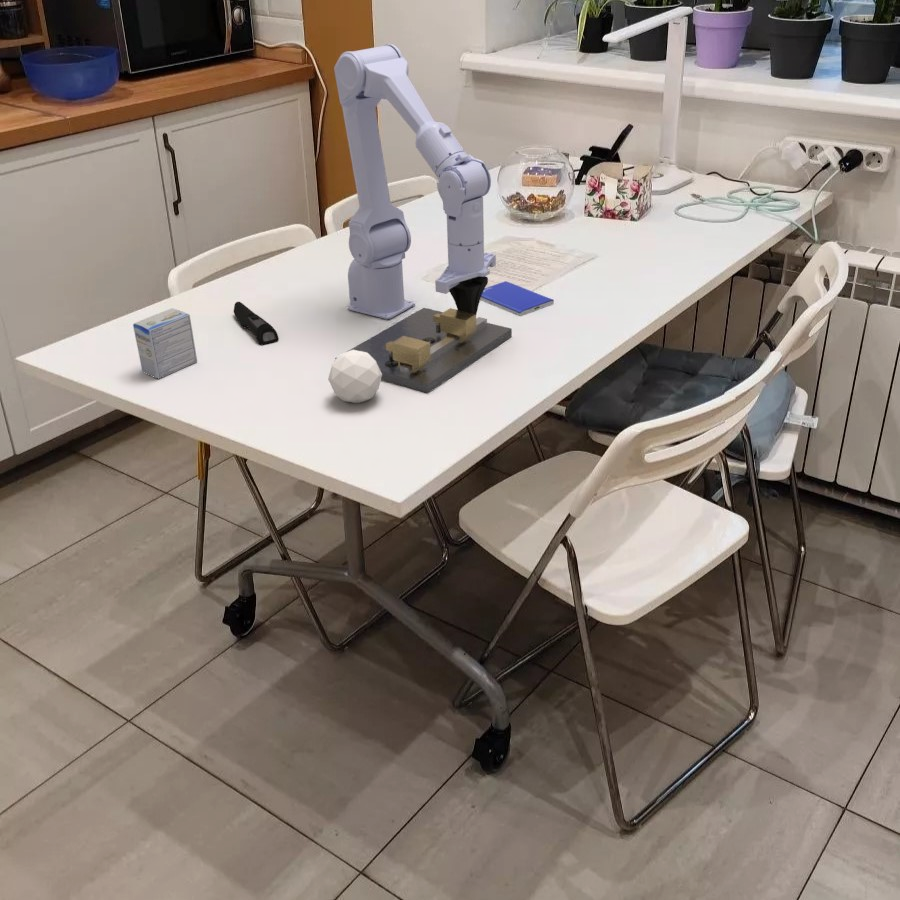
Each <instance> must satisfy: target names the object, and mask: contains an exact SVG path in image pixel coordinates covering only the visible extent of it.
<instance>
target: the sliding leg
mask: <svg viewBox="0 0 900 900" xmlns="http://www.w3.org/2000/svg"><path fill="white" fill-rule="evenodd" d="M442 312H443V313H441V314H438V313H437V314H436V315H434V316H433V322H436V333H441V331H442V332H446V337H448V336H449V335H451V334H454V335H458V336H459V340H460V343H462V342H463V341H465V340H467V339H468V338H470V337H471V334H472V333H474V332H475V331H476V319H477V314H473V313H469V312H465V311H460V310H458V309H457V308H456V309H455V308H452V307H450V308H448V309H447V310H445V311H442Z"/></svg>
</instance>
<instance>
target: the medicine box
mask: <svg viewBox="0 0 900 900" xmlns="http://www.w3.org/2000/svg"><path fill="white" fill-rule="evenodd" d="M191 320H192V319H191V315H190V314H189V313H187V312H185V311H182V310H180V309H177V308H173V307H172V308H169V309H167V310H164V311H161V312H158V313H156V314H154V315H151V316H149V317H146V318H144V319H142V320H139V321H137V322H134V323H133V324H132V326H133V327H132V328H133V332H134V337H135V342H136V346H137V352H138V356H139V357H138V358H139V361H140V366H141V370H142V372H143V373H144V372H145V373H147V374H146V375H148V374H149V375H148V376H150V375H152V376H154V377H156V378H155V379H157V378H158V379H157V380H159V378H160V379H162V378H165V377H166V376H169V375H171V374H173V373H175V372H177V371H181V370H182V369H184V368H186V367H188V366H190V365H193V364H195V363H197V362H198V357H197V351H196V345H195V339H194V333H193V325H192V321H191ZM145 373H144V374H145ZM152 376H151V377H152ZM154 377H153V378H154ZM161 377H162V378H161Z"/></svg>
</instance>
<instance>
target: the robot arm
mask: <svg viewBox="0 0 900 900" xmlns="http://www.w3.org/2000/svg"><path fill="white" fill-rule="evenodd" d="M333 69H334V70H333V71H334V76H335V81H336V87H337V92H338V93H337V94H338V98H339V103H340V106H341V109H342V114H343V120H344V124H345V125H344V126H345V130H346V131H345V132H346V137H347V138H346V139H347V142H348V143H347V144H348V148H349V155H350V160H351V164H352V165H351V166H352V171H353V178H354V183H355V190H356V195H357V200H358V205H359V207H358V209H357V211H356V212H355V213H354V215H352V217H351V218H350V220H349V221H348V228H349V236H348V237H349V238H348V246H349V247H348V248H349V252H350V254H351V256H352V258H353V259H352V261H351V262H350V264H349V267H348V270H347V271H348V272H347V280H348V293H349V304H350V305H348V306H347V310H349V311H352V312H357V313H361V314H364V315H369V316H373V317H377V318H381V319H385V320H390V319H392V318H394V317H397V315H399V314H401V313H403V312H405V311H406V310H409V309H411V308H412V307H414V306H415V305H416V304H415V302H414V301H409V300H406V299H405V290H404V289H405V287H404V274H403V273H404V272H403V260H404V259H406V253H407V252H408V251H409V249H410V247H411V243H412V235H411V232H410V229H409V226H408V225H407V223H406V219H405V215H404V211H403V210H402V209H400V208H398V206H395V205H394V204H393V203H392V202H391V198H390V190H389V186H388V185H389V184H388V179H387V172H386V166H385V160H384V154H383V153H384V152H383V147H382V142H381V135H380V128H379V123H378V118H377V111H376V108H377V106H378V105H379V104H380V101H381V100H382V99H383V100H387V102H389V104H391V106H392V107H393V108H394V109H395V110H396V111H397V114H399V116H400V117H401V118H402V119H403V120H404V121H405V123H406V124H407V125H408V126H409V127H410V129H411V130H412V131H413V132H414V134H415V135H416V136H415V148H416V149H417V150H418V152H419V153H420V155H421V156H422V158H423V159H424V160H425V162H426V163H427V165H428V166H429V168H430V169H431V170H432V172H433V173H434V175H435V176H436V177H437V180H438V182H436V187H437V193H438V194H439V196H440V199H441V201H442V207H443V208H442V209H443V212H444V214H445V215H446V232H447V233H446V234H447V235H446V236H447V239H446V240H447V262H448V263H447V267H446V268H445V269H444V270H443V272H442V273H441V275H440V276H439V277H438V278H437V279H435V281H434V282H435V285H434V286H435V292H436V293H439V294H444V295H446V294H448V293H449V294H450V295H451V297H452V298H453V301H454V305H455V306H456V310H460V311H465V312H469V313H473V314H476V315H477V313H478V310H479V309H478V308H479V304H480V302H481V300H480V298H481V295H482V293H483V291H484V289H485V288H487V285H488V284H489V277H487V276H489V275H490V273H491V269H490V268H494V267H496V266H497V257H496V254H494V253H490V252H485V243H484V242H485V237H484V235H485V233H484V232H485V230H484V228H485V227H484V225H485V224H484V197H485V196H486V195H487V194H488V193H489V192H490V189H491V186H492V178H491V174H490V170H489V168H487V165H486V164H485V162H484V161H483V160H481V159H480V158H476V157H473V155H472V154H470V153H469V154H467V152H466V151H465V149H464V148H463V147H462V145H461V144H460V142H459V140H458V139H457V138H456V136H455V135H454V133H453V132H452V130H451V128H450V127H449V126H448V125H447V124H446V123H445V122H439V121H438V122H437V121H436V120H434V118H433V117H432V115H431V113H430V111H429V110H428V108H427V106H426V104H425V102H424V101H423V100H422V98H421V96H420V94H419V93H418V91H417V90H416V87H415V86H414V84H413V83H412V82H411V80H410V78H409V62H408V61H407V60H406V59H405V57H404V56H403V54H402V51H401V50H400V49H399V47H397V46H396V45H394V44H392V43H388V44H387V43H386V44H385V45H380V46H377V47H371V48H370V47H369V48H365V49H360V50H359V49H358V50H353V51H350V50H349V51H347V50H346V51H344V52H342V53H341V54H340V56H339V57H338V59H337V62H336V63H335V65H334V67H333Z"/></svg>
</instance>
